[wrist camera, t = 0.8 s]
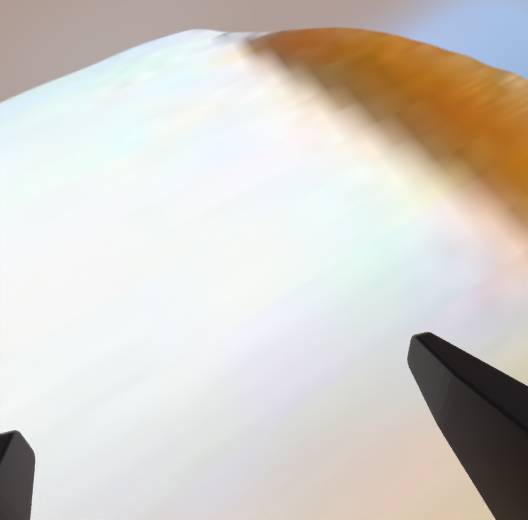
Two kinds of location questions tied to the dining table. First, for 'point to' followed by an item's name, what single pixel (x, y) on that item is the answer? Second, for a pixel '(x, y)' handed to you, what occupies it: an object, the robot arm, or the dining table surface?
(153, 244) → the dining table surface
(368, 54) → the dining table surface
